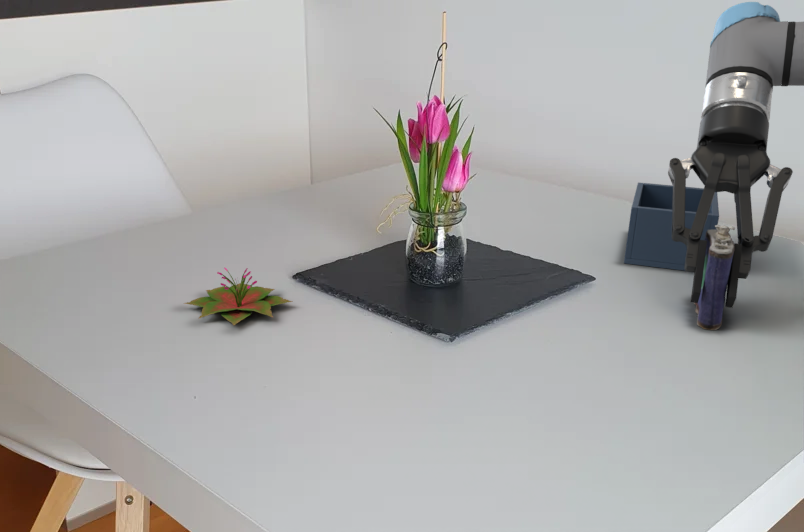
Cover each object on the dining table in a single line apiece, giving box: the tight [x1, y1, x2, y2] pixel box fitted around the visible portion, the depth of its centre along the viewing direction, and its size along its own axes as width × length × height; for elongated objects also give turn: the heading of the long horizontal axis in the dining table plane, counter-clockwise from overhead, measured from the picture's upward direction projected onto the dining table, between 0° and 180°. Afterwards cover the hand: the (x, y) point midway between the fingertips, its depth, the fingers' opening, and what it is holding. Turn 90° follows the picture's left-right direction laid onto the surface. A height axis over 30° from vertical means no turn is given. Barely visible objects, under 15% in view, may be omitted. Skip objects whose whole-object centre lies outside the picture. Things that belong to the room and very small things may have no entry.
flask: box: [693, 224, 736, 331], centre depth 94 cm, size 9×3×11 cm, turn 162°
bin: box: [623, 182, 720, 272], centre depth 114 cm, size 11×14×8 cm
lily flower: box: [183, 267, 293, 326], centre depth 96 cm, size 12×12×5 cm
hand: (712, 299), depth 92 cm, fingers closed on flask, 3 cm apart
